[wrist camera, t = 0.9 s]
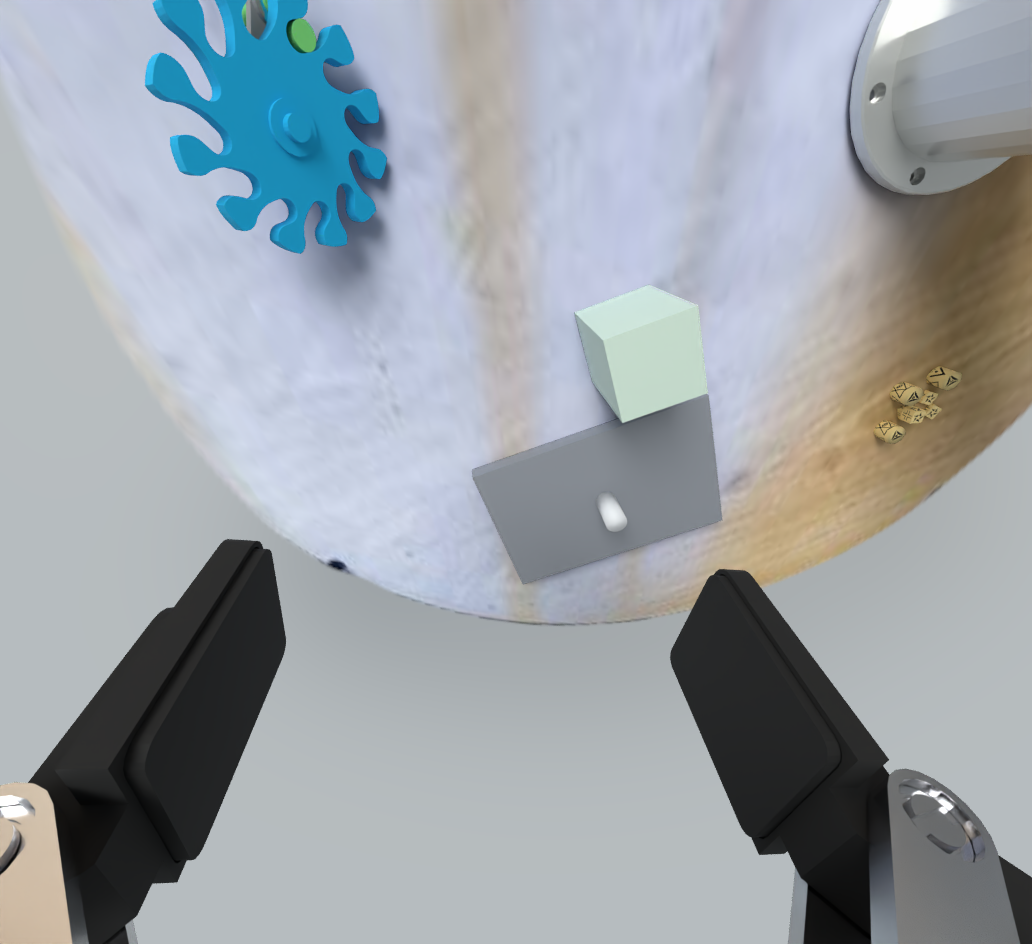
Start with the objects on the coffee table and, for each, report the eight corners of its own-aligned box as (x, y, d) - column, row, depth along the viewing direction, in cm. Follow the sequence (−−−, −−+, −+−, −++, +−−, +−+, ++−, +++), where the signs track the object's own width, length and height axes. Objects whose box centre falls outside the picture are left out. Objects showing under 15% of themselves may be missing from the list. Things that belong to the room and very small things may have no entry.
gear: (385, 270, 25) (172, 228, 17) (327, 258, 28) (122, 217, 20) (404, 18, 21) (135, -188, 13) (333, 36, 24) (80, -123, 16)
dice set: (866, 435, 37) (884, 446, 35) (876, 379, 34) (897, 387, 33) (927, 419, 37) (949, 429, 35) (942, 360, 34) (966, 368, 32)
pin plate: (701, 389, 32) (730, 412, 29) (715, 511, 39) (741, 543, 35) (472, 469, 34) (473, 500, 30) (521, 574, 40) (526, 610, 37)
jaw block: (648, 284, 28) (698, 305, 22) (660, 357, 31) (707, 393, 25) (574, 312, 29) (603, 340, 23) (592, 381, 31) (622, 423, 25)
